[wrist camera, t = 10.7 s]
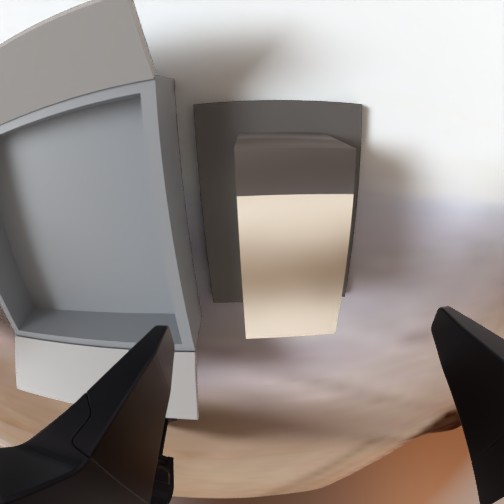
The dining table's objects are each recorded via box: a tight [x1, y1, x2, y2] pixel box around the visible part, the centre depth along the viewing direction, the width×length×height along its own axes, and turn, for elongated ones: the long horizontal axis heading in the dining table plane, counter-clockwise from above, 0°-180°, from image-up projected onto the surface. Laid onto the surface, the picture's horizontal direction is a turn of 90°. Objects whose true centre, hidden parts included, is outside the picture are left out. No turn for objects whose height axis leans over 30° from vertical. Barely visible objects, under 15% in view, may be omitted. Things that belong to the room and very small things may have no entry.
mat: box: [194, 100, 362, 303], centre depth 19 cm, size 14×10×1 cm
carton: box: [0, 0, 202, 420], centre depth 16 cm, size 25×18×8 cm
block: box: [234, 132, 356, 339], centre depth 16 cm, size 10×5×6 cm, turn 2°
